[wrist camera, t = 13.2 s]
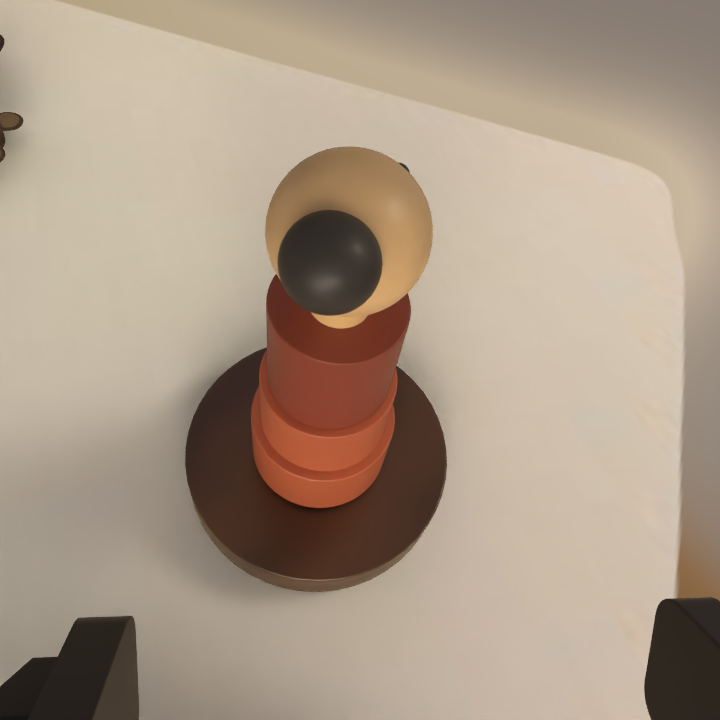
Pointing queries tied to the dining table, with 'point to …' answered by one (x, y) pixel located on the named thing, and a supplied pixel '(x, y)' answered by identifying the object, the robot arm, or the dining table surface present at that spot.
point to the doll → (336, 321)
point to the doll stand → (307, 524)
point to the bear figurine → (7, 120)
